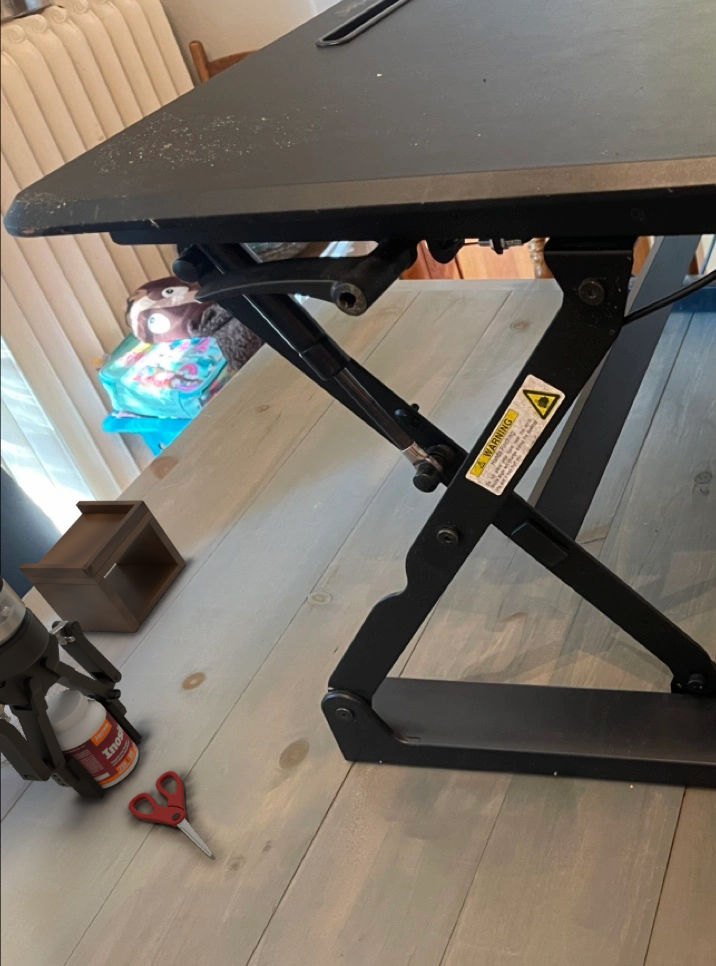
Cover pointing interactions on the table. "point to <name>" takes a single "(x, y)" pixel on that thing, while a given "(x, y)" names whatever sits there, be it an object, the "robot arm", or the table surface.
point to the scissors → (169, 809)
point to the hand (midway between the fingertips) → (112, 765)
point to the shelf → (107, 567)
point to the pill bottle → (91, 737)
